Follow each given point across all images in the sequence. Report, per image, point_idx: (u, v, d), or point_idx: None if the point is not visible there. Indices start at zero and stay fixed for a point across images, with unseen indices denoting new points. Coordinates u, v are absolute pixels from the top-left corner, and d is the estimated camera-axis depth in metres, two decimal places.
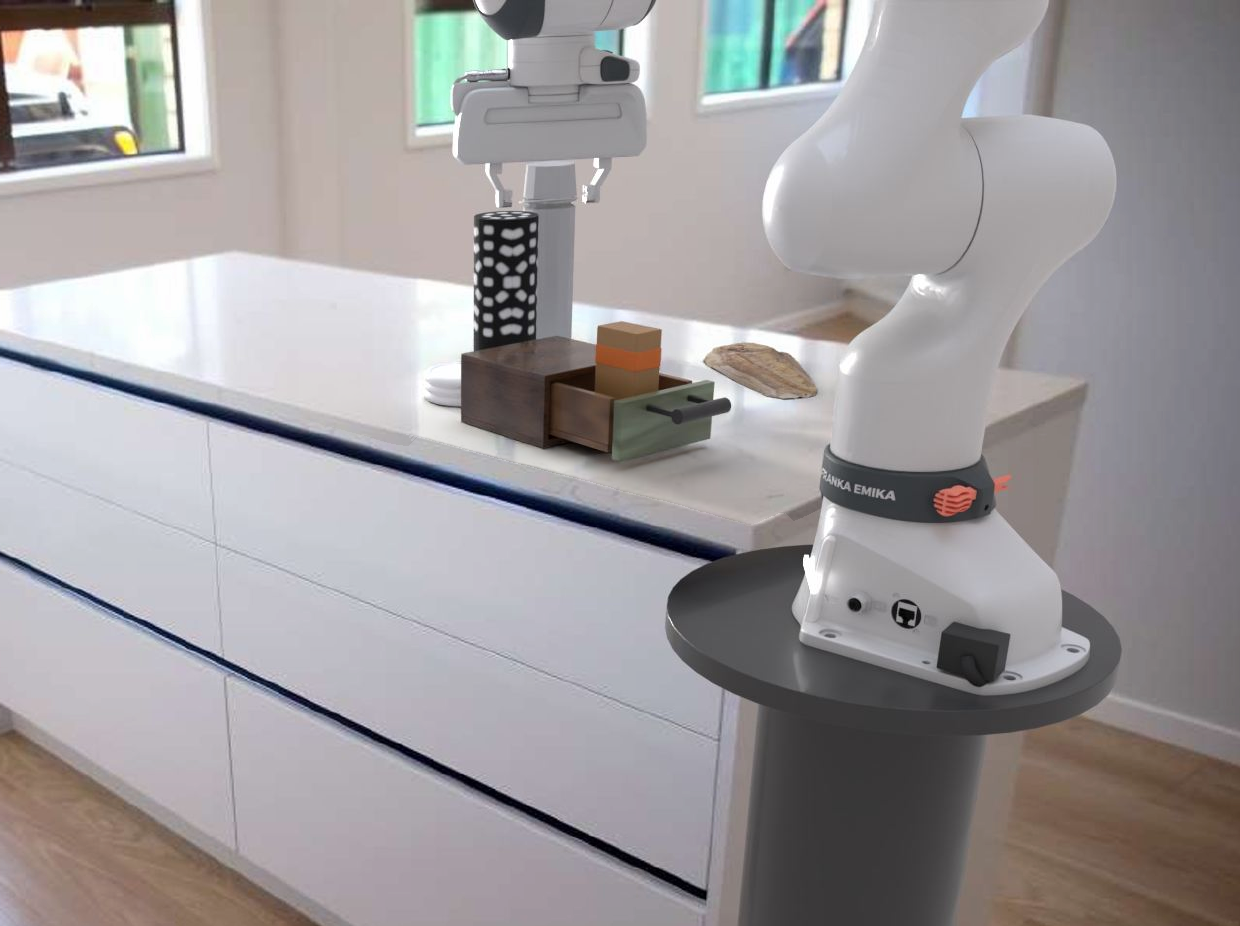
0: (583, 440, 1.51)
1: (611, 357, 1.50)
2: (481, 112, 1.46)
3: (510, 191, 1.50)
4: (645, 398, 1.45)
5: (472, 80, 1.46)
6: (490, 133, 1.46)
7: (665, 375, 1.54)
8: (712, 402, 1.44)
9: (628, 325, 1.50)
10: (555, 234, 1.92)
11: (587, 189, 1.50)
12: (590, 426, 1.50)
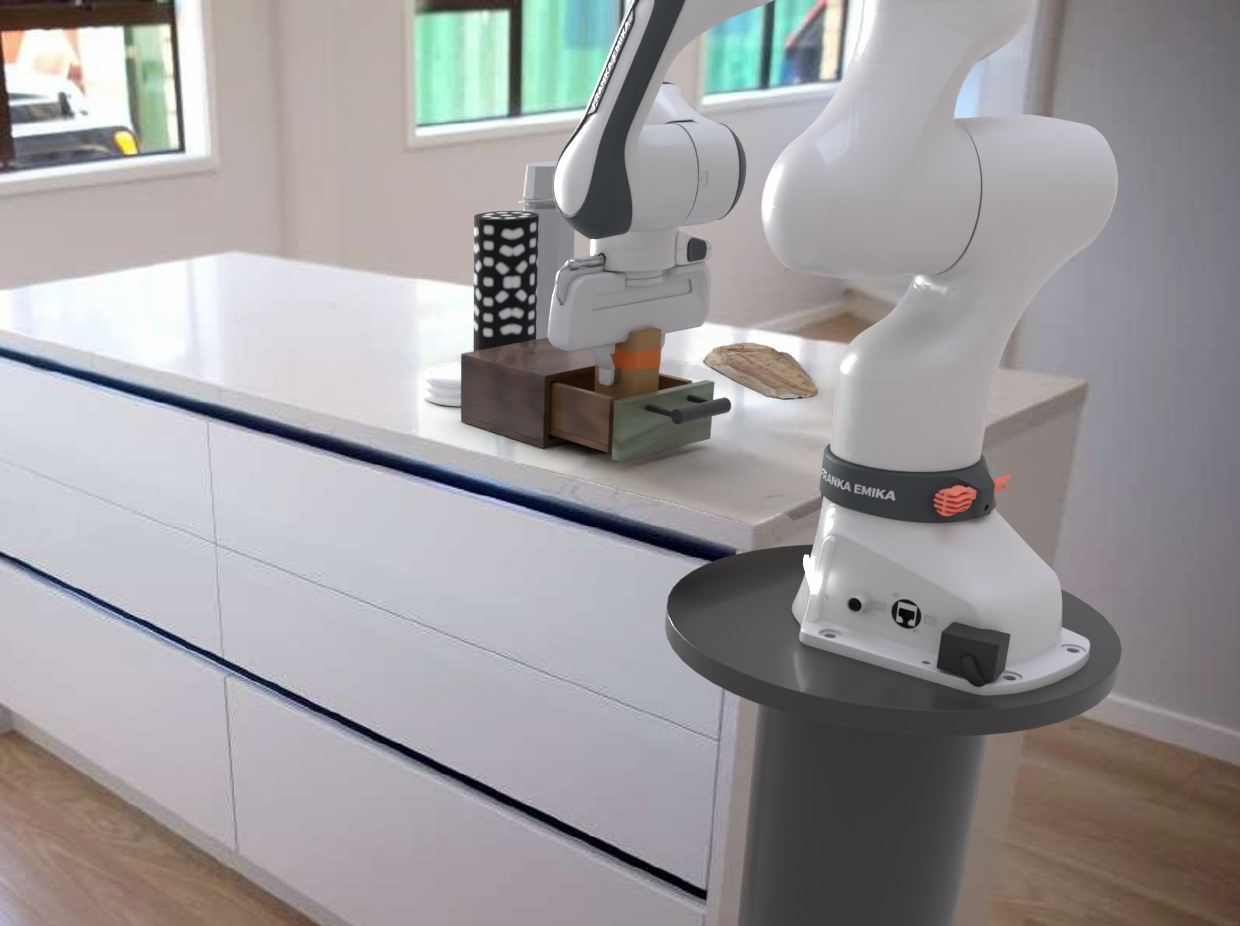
0: (583, 440, 1.51)
1: (611, 357, 1.50)
2: (589, 300, 1.43)
3: (619, 369, 1.50)
4: (645, 398, 1.45)
5: (576, 268, 1.43)
6: (595, 319, 1.44)
7: (665, 375, 1.54)
8: (712, 402, 1.44)
9: None
10: (554, 234, 1.92)
11: None
12: (590, 426, 1.50)
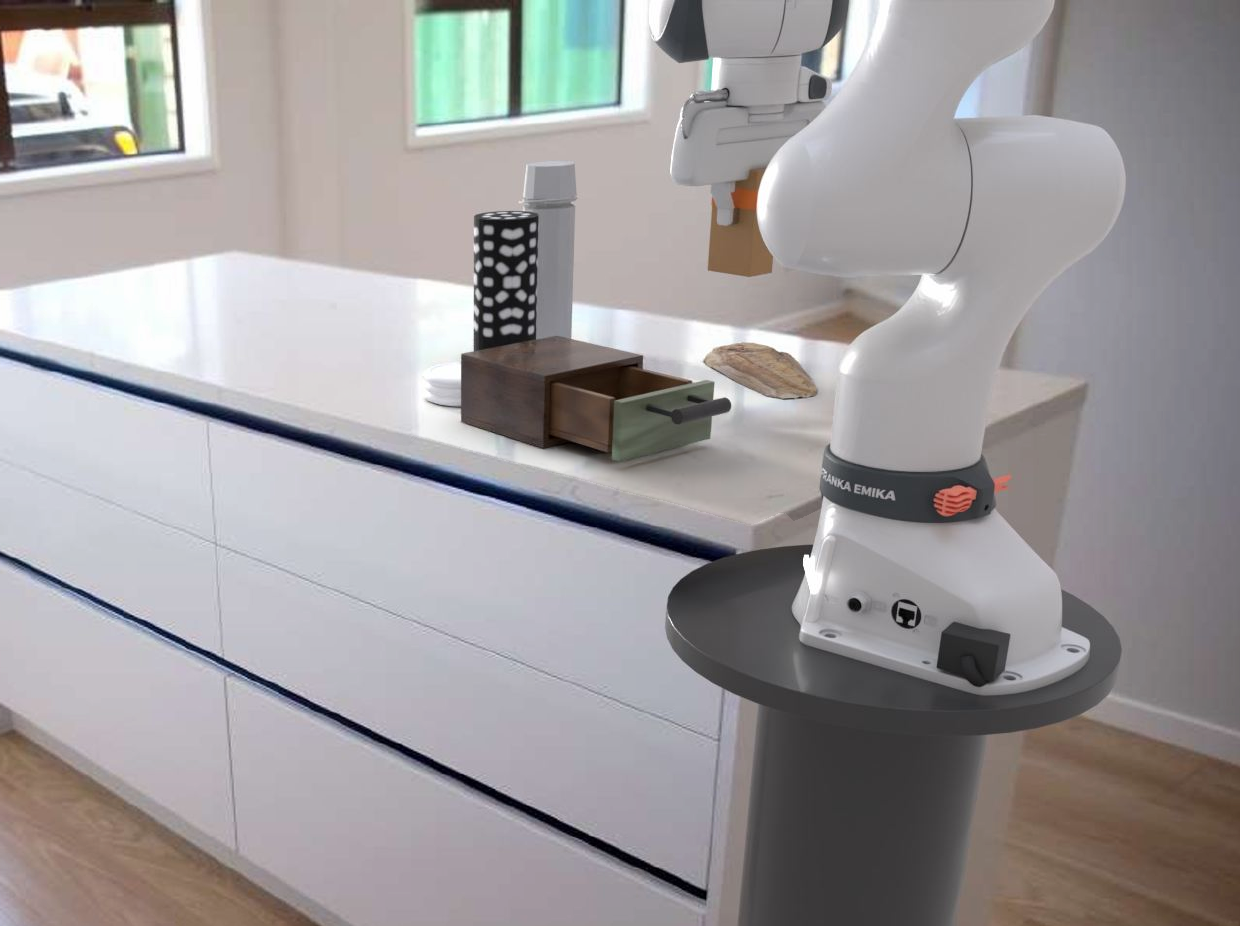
0: (583, 440, 1.51)
1: None
2: (713, 133, 1.44)
3: (738, 208, 1.51)
4: (645, 398, 1.45)
5: (701, 101, 1.44)
6: (719, 153, 1.45)
7: (665, 375, 1.54)
8: (712, 402, 1.44)
9: None
10: (554, 234, 1.92)
11: None
12: (590, 426, 1.50)
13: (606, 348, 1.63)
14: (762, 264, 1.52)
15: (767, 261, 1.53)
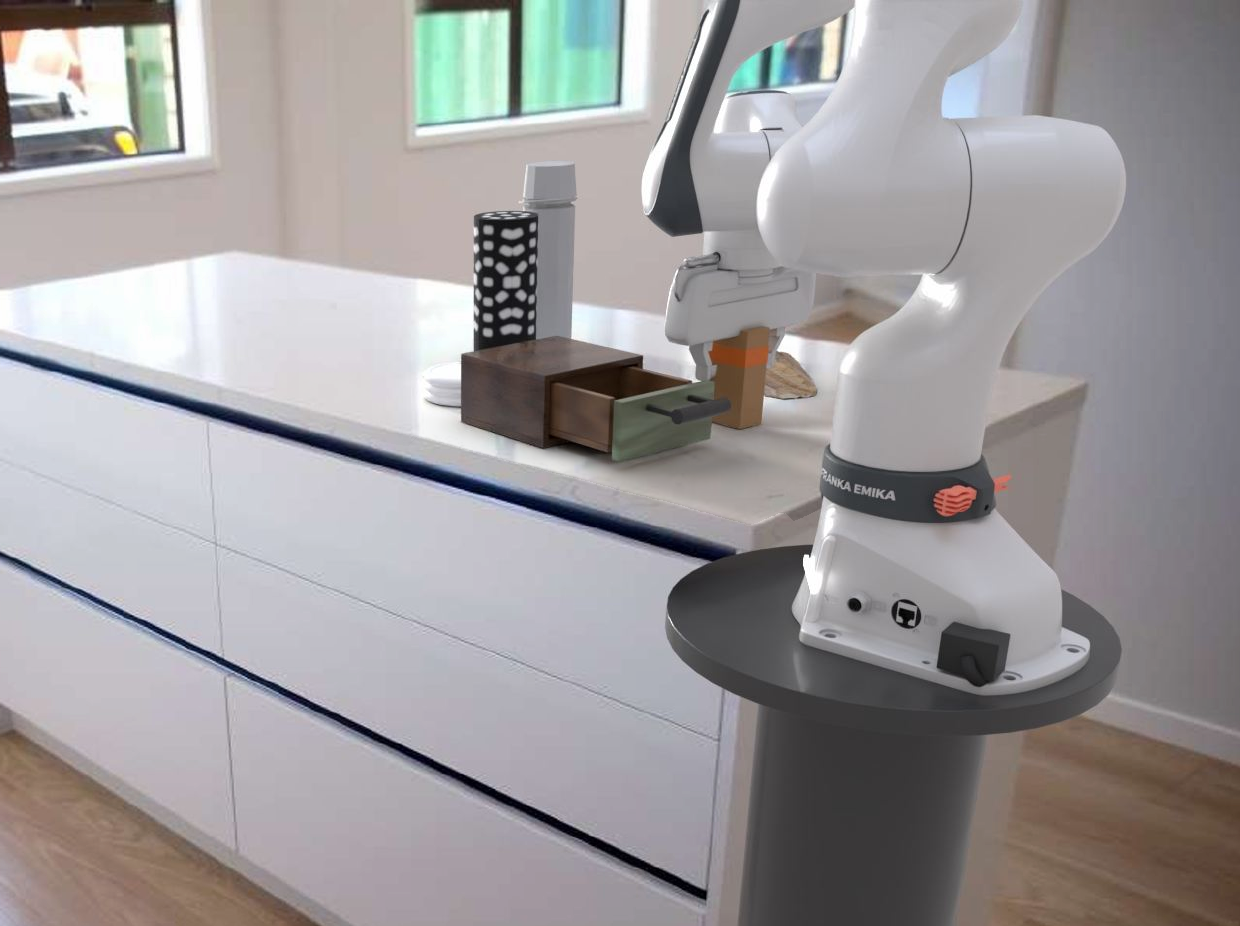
0: (583, 440, 1.51)
1: (721, 354, 1.58)
2: (705, 297, 1.51)
3: (715, 365, 1.56)
4: (645, 398, 1.45)
5: (693, 266, 1.50)
6: (710, 315, 1.52)
7: (665, 375, 1.54)
8: (712, 402, 1.44)
9: None
10: (554, 234, 1.92)
11: None
12: (590, 426, 1.50)
13: (606, 348, 1.63)
14: (752, 417, 1.59)
15: (757, 413, 1.59)
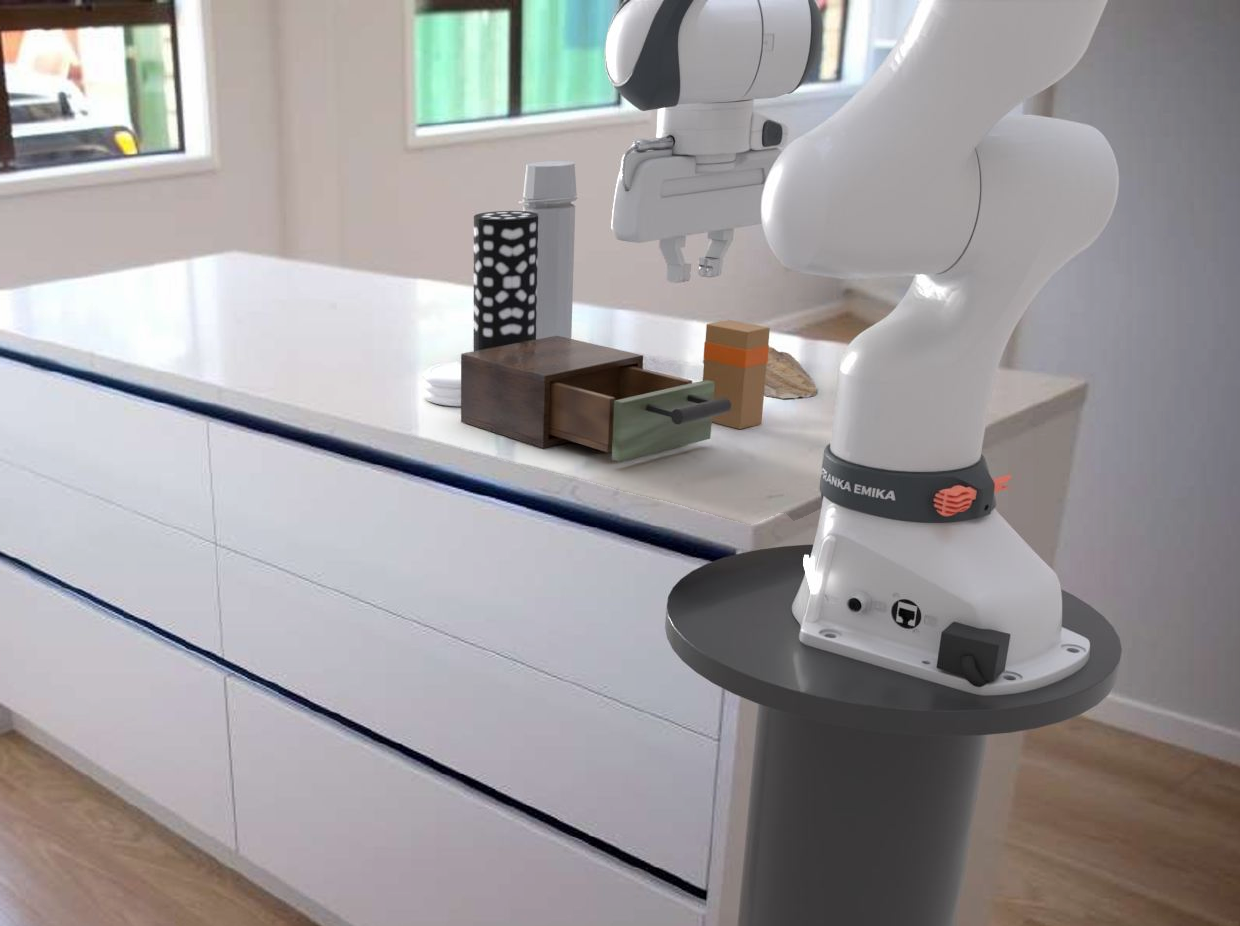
0: (583, 440, 1.51)
1: (721, 354, 1.58)
2: (657, 185, 1.32)
3: (689, 264, 1.38)
4: (645, 398, 1.45)
5: (643, 150, 1.31)
6: (664, 207, 1.33)
7: (665, 375, 1.54)
8: (712, 402, 1.44)
9: (736, 324, 1.58)
10: (554, 234, 1.92)
11: (712, 262, 1.40)
12: (590, 426, 1.50)
13: (606, 348, 1.63)
14: (752, 417, 1.59)
15: (757, 413, 1.59)
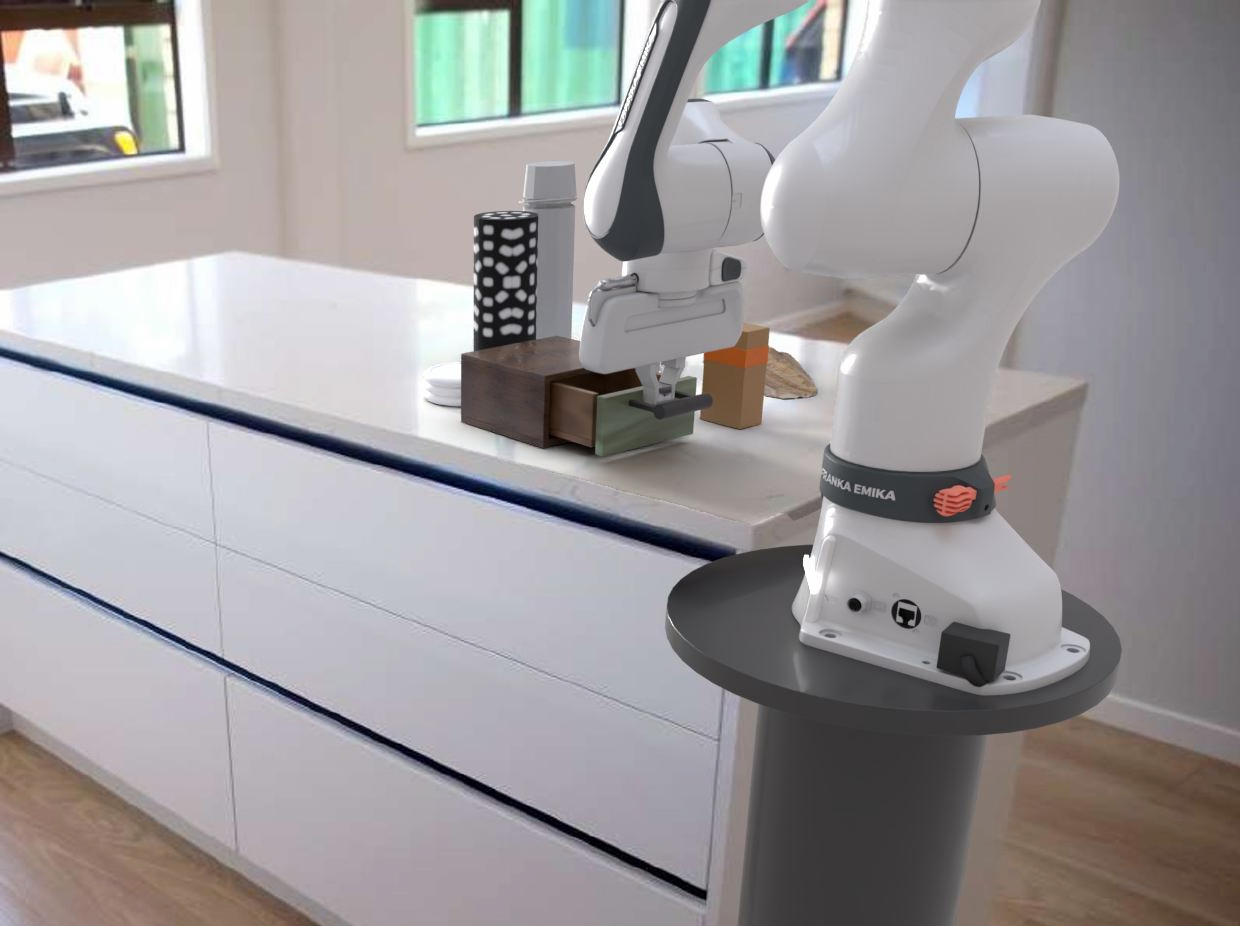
0: (567, 435, 1.53)
1: (721, 354, 1.58)
2: (621, 321, 1.40)
3: (664, 387, 1.47)
4: (628, 393, 1.47)
5: (608, 289, 1.39)
6: (628, 340, 1.41)
7: None
8: (693, 397, 1.46)
9: None
10: (554, 234, 1.92)
11: (665, 389, 1.48)
12: (574, 421, 1.52)
13: None
14: (752, 417, 1.59)
15: (757, 413, 1.59)
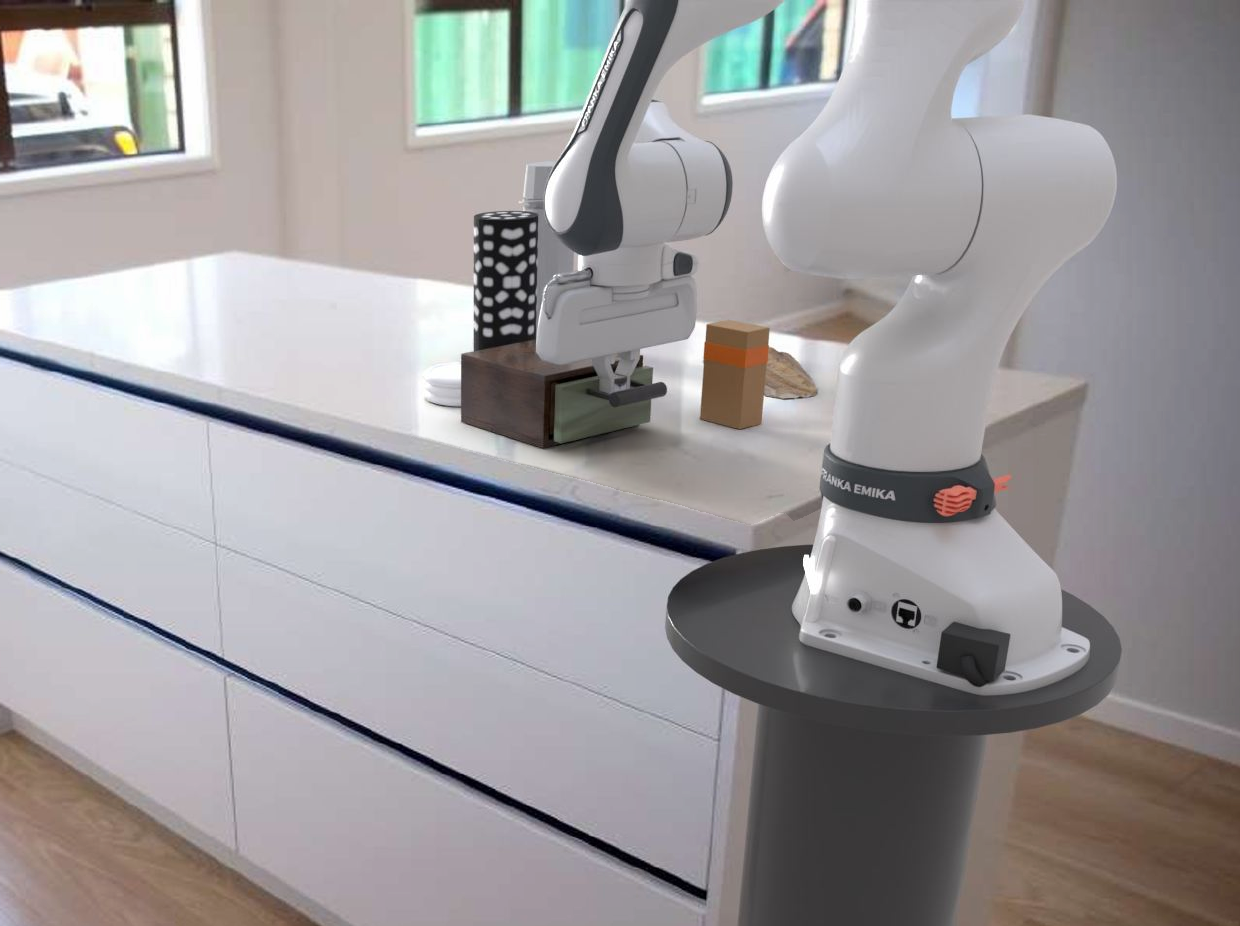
0: None
1: (721, 354, 1.58)
2: (576, 314, 1.45)
3: (619, 378, 1.53)
4: (585, 382, 1.52)
5: (563, 283, 1.45)
6: (583, 333, 1.46)
7: None
8: (648, 386, 1.51)
9: (736, 323, 1.58)
10: None
11: (621, 380, 1.53)
12: None
13: None
14: (752, 417, 1.59)
15: (757, 413, 1.59)
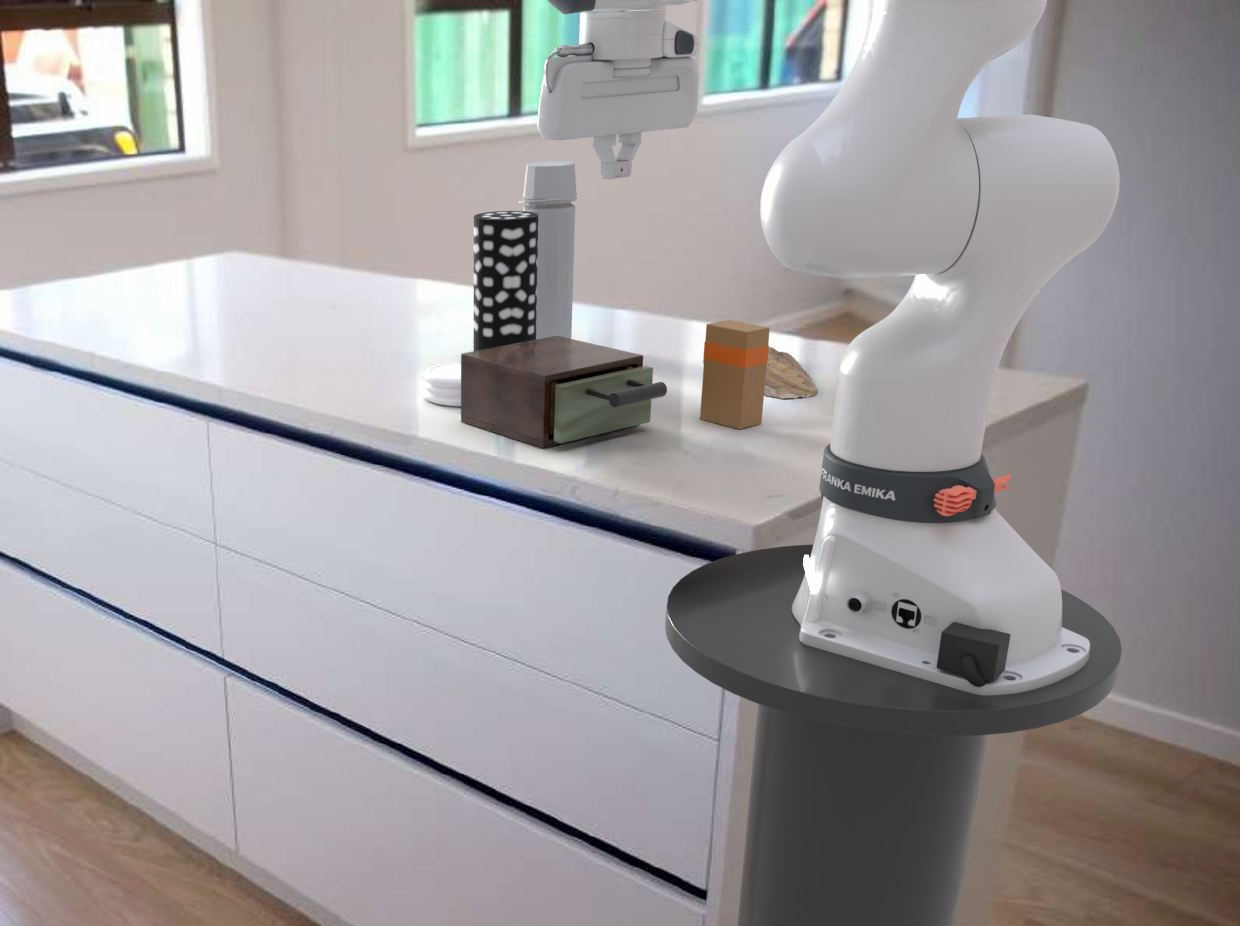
0: None
1: (721, 354, 1.58)
2: (577, 87, 1.45)
3: (620, 162, 1.53)
4: (585, 382, 1.52)
5: (564, 55, 1.45)
6: (584, 107, 1.47)
7: None
8: (648, 386, 1.51)
9: (736, 323, 1.58)
10: (554, 234, 1.92)
11: (622, 164, 1.53)
12: None
13: (606, 348, 1.63)
14: (752, 417, 1.59)
15: (757, 413, 1.59)
